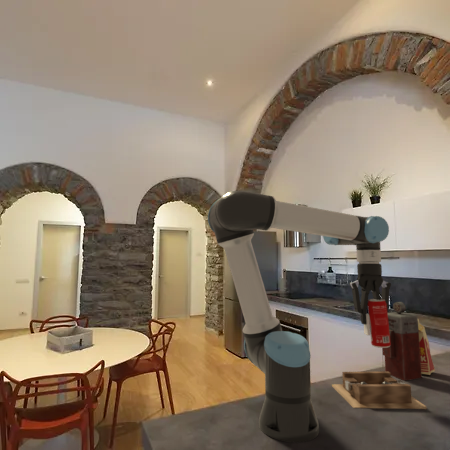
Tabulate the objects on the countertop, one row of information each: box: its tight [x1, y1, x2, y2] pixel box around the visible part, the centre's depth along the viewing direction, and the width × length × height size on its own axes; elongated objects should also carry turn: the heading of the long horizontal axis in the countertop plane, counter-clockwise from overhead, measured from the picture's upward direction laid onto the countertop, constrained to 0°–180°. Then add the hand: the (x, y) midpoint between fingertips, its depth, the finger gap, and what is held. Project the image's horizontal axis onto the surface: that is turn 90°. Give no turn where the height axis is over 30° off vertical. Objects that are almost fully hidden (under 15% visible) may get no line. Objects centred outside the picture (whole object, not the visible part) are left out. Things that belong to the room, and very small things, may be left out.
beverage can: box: [367, 298, 391, 349], centre depth 107 cm, size 6×6×15 cm
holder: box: [331, 370, 428, 410], centre depth 106 cm, size 22×18×6 cm
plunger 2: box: [382, 379, 406, 384], centre depth 106 cm, size 7×2×2 cm, turn 92°
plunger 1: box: [345, 381, 367, 391], centre depth 106 cm, size 7×2×2 cm, turn 92°
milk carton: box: [418, 318, 436, 376], centre depth 133 cm, size 9×9×20 cm
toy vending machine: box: [381, 301, 422, 382], centre depth 128 cm, size 9×11×28 cm
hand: (372, 334), depth 107 cm, fingers closed on beverage can, 3 cm apart
